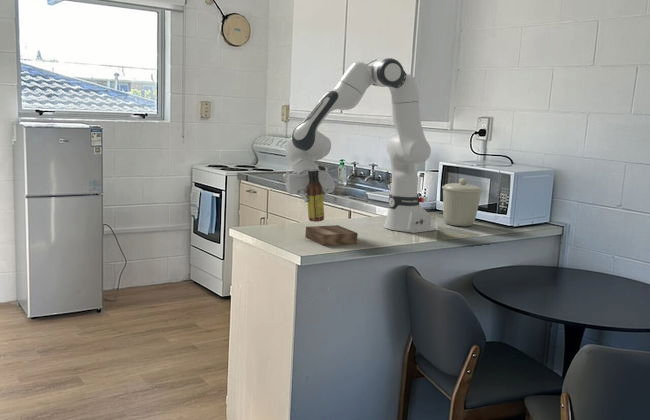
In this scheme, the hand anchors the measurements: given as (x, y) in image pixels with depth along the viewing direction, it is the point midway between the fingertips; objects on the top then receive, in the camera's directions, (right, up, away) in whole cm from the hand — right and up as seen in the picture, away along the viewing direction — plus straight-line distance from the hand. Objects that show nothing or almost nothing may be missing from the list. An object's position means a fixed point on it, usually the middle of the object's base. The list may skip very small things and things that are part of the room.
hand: (316, 201), depth 247 cm
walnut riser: (+6, -15, -9) cm, 18 cm away
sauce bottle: (0, -8, +2) cm, 8 cm away
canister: (+64, -10, +42) cm, 77 cm away
